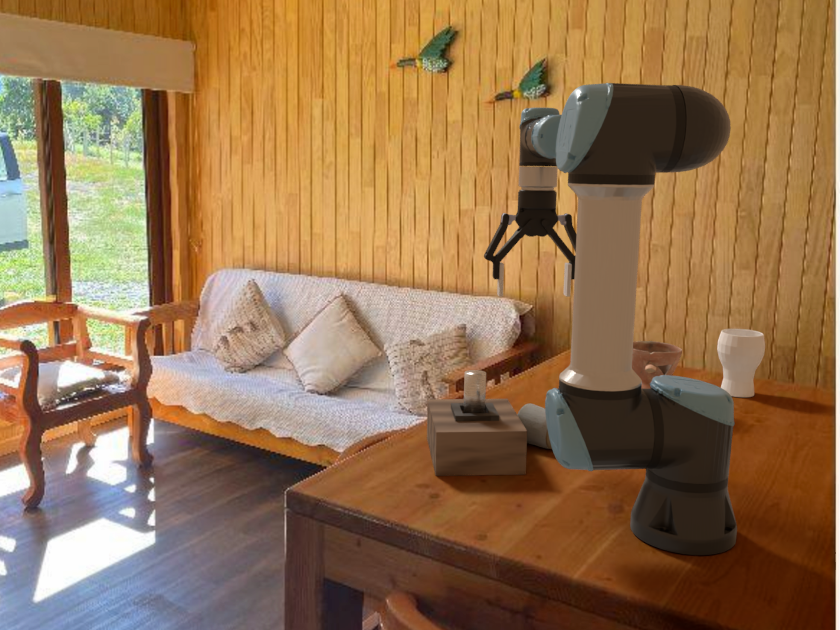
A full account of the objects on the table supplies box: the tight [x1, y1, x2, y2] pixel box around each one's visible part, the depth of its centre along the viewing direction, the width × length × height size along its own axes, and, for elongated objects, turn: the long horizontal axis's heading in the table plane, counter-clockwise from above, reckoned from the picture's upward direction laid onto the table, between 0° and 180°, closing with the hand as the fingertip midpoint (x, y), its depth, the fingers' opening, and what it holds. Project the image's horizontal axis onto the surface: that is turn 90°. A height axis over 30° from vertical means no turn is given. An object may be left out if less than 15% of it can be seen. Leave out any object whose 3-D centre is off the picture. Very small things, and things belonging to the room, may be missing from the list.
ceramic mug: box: [516, 403, 552, 450], centre depth 161 cm, size 11×8×8 cm
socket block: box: [426, 398, 528, 477], centre depth 153 cm, size 20×16×9 cm
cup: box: [716, 328, 766, 398], centre depth 197 cm, size 11×11×15 cm
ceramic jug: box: [632, 340, 683, 389], centre depth 186 cm, size 18×14×14 cm
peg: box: [463, 369, 487, 413], centre depth 152 cm, size 4×4×8 cm
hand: (533, 295), depth 165 cm, fingers open, 13 cm apart
